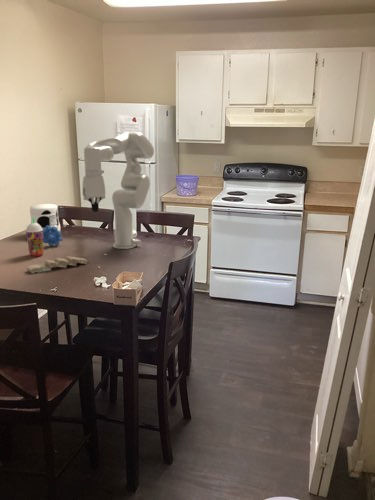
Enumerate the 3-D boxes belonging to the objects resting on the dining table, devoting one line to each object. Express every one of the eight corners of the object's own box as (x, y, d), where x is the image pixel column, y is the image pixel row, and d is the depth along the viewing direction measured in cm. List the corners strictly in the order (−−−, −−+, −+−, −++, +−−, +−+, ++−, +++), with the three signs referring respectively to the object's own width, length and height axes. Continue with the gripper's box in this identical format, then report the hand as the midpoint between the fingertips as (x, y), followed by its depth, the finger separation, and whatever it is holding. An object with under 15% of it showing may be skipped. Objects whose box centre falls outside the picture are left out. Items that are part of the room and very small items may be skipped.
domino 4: (72, 260, 214) (55, 257, 208) (76, 262, 210) (59, 260, 204) (71, 263, 214) (54, 261, 208) (76, 265, 210) (58, 263, 204)
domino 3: (62, 261, 211) (45, 259, 205) (67, 264, 208) (50, 262, 201) (61, 265, 211) (44, 263, 205) (66, 267, 208) (49, 265, 201)
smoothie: (35, 258, 220) (31, 220, 214) (24, 255, 224) (20, 218, 218) (48, 254, 227) (45, 217, 221) (37, 252, 231) (34, 215, 225)
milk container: (34, 232, 271) (32, 203, 265) (63, 231, 273) (61, 203, 267) (27, 239, 254) (25, 209, 249) (58, 239, 256) (56, 209, 251)
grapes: (40, 249, 236) (38, 227, 233) (40, 245, 243) (39, 224, 239) (62, 247, 240) (61, 226, 236) (62, 244, 246) (61, 223, 242)
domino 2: (47, 265, 208) (28, 268, 203) (50, 268, 204) (31, 271, 199) (48, 268, 208) (28, 271, 204) (51, 271, 204) (31, 275, 200)
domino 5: (83, 258, 217) (66, 256, 211) (88, 260, 213) (71, 258, 207) (82, 261, 217) (66, 259, 211) (87, 263, 213) (70, 262, 207)
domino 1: (46, 262, 207) (27, 266, 202) (50, 265, 203) (30, 269, 198) (46, 265, 207) (27, 269, 202) (50, 268, 204) (30, 272, 198)
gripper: (104, 171, 213) (106, 208, 219) (75, 173, 205) (77, 211, 211) (111, 173, 207) (112, 211, 213) (81, 175, 199) (83, 214, 205)
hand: (95, 211), depth 212 cm, fingers closed
